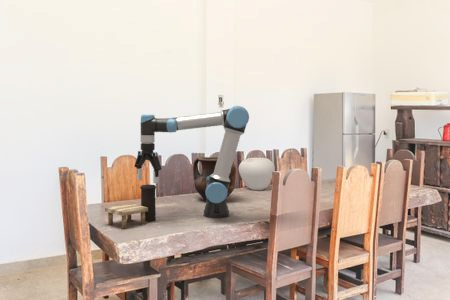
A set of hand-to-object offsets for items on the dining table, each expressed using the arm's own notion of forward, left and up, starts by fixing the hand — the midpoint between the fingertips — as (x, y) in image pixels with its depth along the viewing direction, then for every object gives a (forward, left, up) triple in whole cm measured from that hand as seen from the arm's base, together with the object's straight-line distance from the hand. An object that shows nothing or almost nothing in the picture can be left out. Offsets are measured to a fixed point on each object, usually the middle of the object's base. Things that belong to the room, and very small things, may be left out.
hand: (147, 181), depth 241 cm
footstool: (+2, +13, -22) cm, 25 cm away
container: (0, 0, -22) cm, 22 cm away
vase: (+19, -124, -22) cm, 127 cm away
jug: (+13, -68, -22) cm, 73 cm away
